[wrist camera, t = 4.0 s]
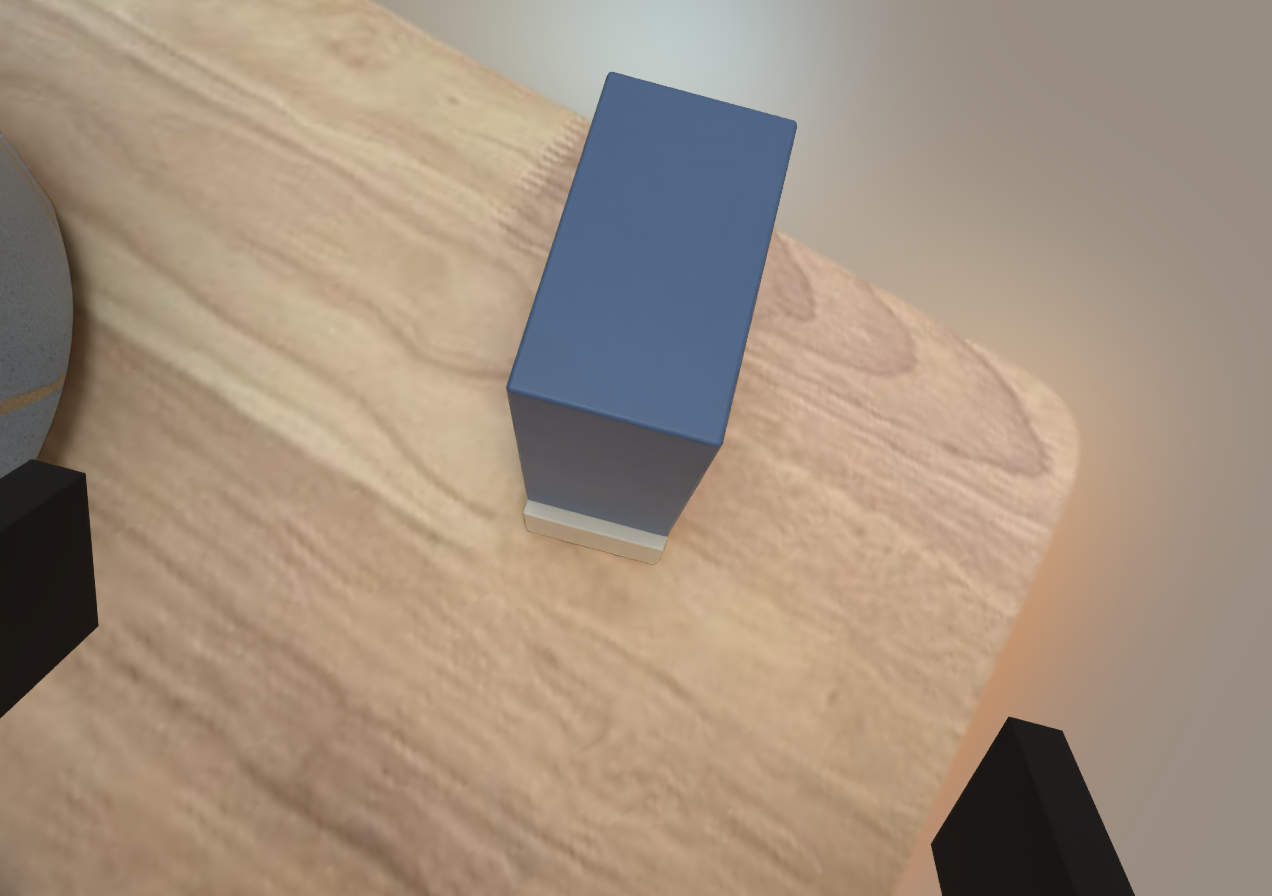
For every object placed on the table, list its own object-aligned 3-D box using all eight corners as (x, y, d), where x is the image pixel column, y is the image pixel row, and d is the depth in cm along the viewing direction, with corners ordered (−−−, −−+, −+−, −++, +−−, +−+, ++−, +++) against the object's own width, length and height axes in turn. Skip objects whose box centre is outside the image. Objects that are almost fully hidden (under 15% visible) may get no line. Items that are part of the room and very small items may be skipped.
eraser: (655, 565, 25) (717, 468, 15) (526, 530, 25) (497, 409, 15) (713, 330, 28) (803, 104, 17) (595, 298, 28) (613, 53, 17)
